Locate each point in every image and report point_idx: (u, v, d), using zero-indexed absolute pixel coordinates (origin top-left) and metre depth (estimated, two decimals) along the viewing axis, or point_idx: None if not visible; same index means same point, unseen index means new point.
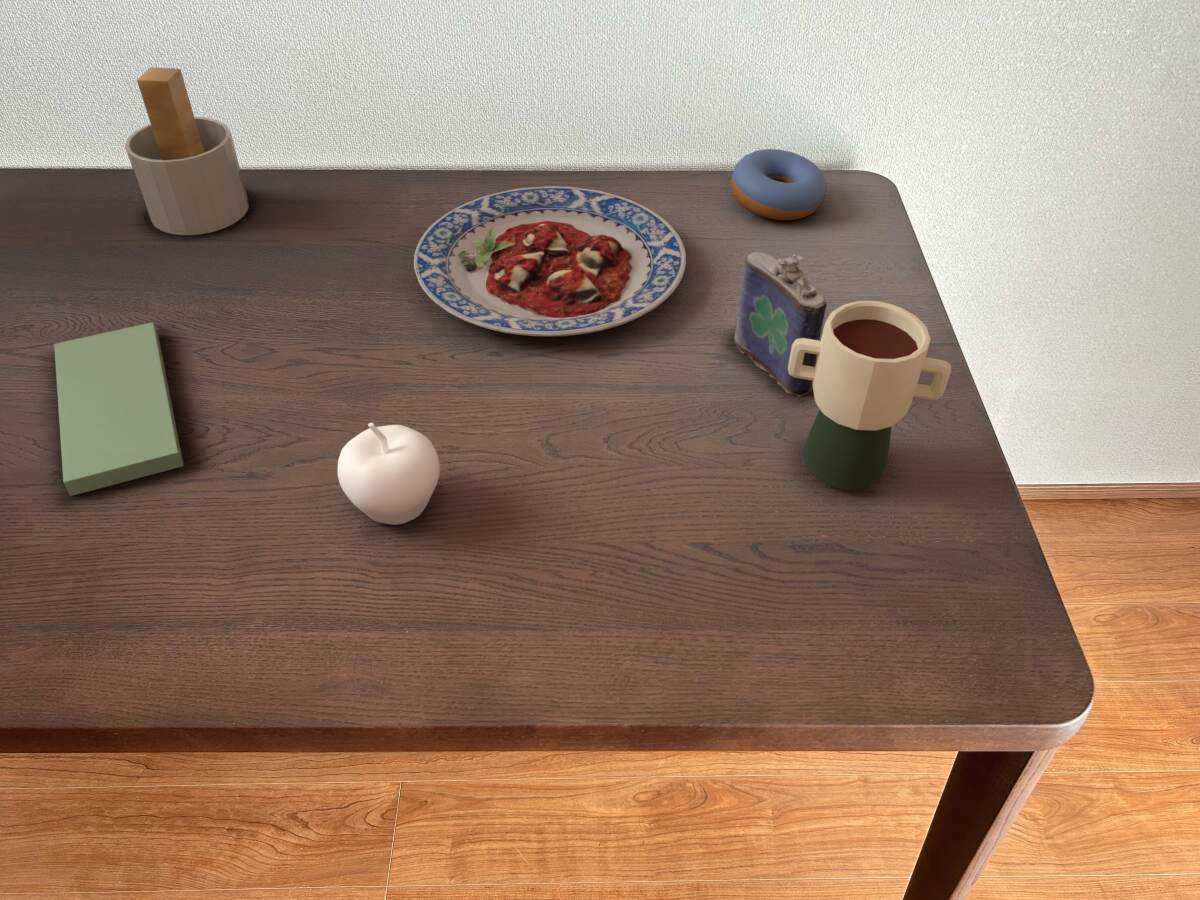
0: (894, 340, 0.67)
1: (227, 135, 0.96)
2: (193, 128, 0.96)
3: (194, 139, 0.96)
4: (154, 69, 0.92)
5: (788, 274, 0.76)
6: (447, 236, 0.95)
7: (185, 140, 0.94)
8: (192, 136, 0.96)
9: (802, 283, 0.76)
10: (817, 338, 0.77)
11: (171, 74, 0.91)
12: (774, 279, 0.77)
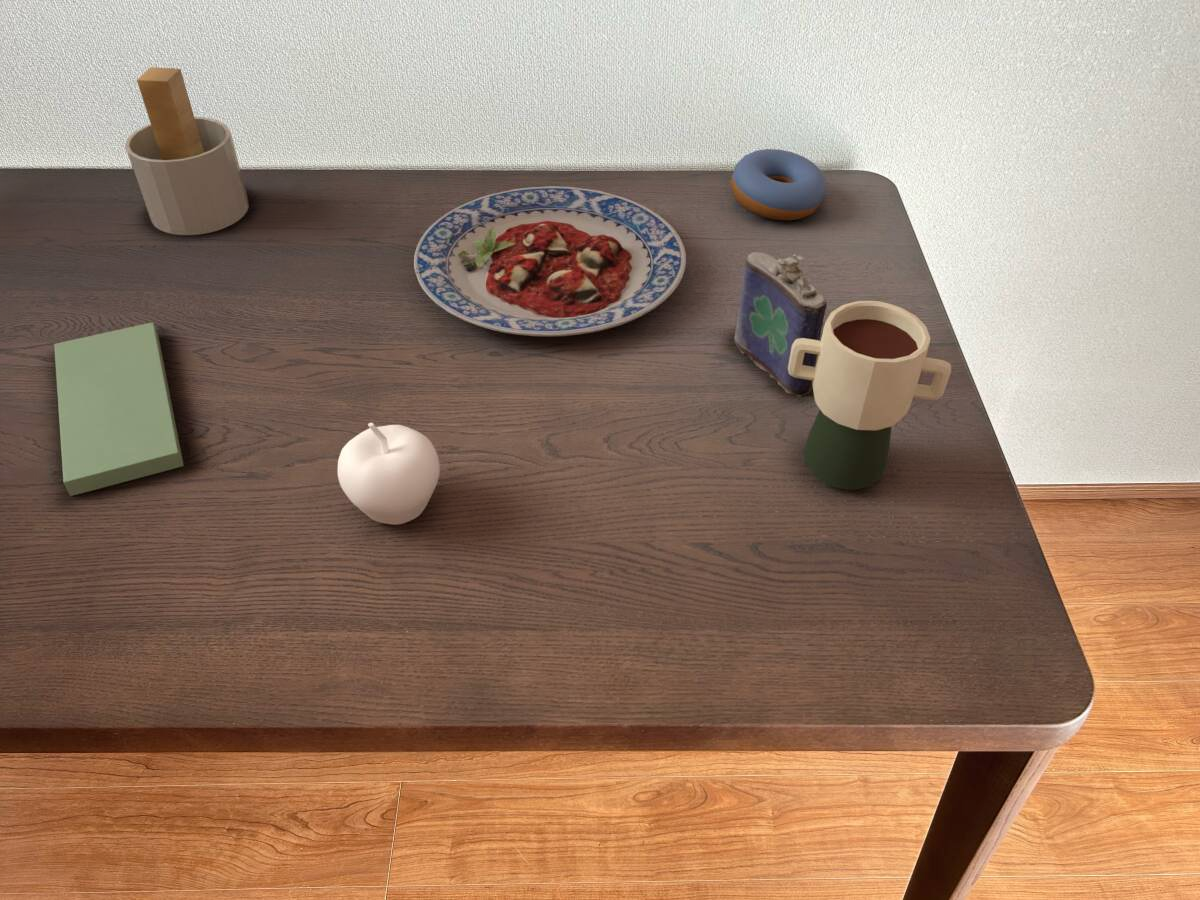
0: (894, 340, 0.67)
1: (227, 135, 0.96)
2: (193, 128, 0.96)
3: (194, 139, 0.96)
4: (154, 69, 0.92)
5: (788, 274, 0.76)
6: (447, 236, 0.95)
7: (185, 140, 0.94)
8: (192, 136, 0.96)
9: (802, 283, 0.76)
10: (817, 338, 0.77)
11: (171, 74, 0.91)
12: (774, 279, 0.77)
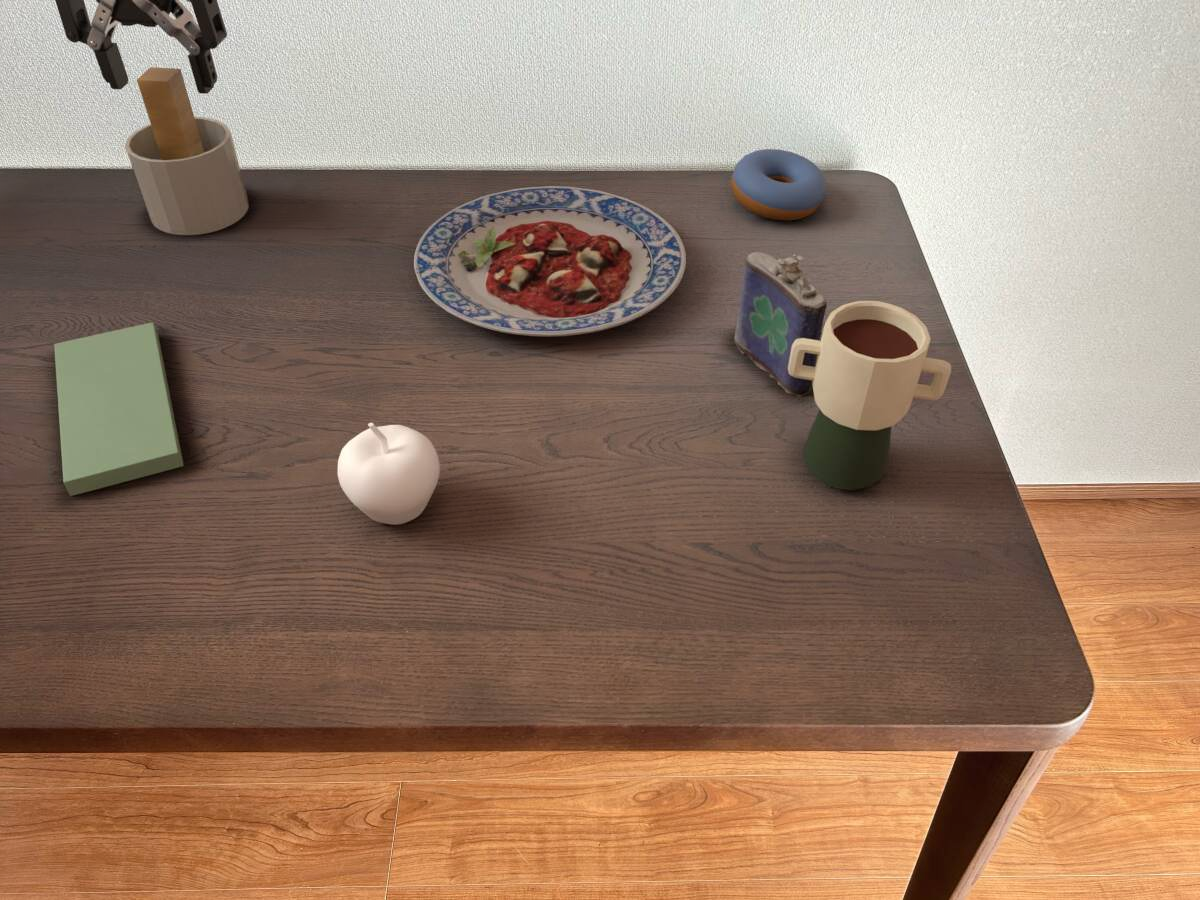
0: (894, 340, 0.67)
1: (227, 135, 0.96)
2: (193, 128, 0.96)
3: (194, 139, 0.96)
4: (154, 69, 0.92)
5: (788, 274, 0.76)
6: (447, 236, 0.95)
7: (185, 140, 0.94)
8: (192, 136, 0.96)
9: (802, 283, 0.76)
10: (817, 338, 0.77)
11: (171, 74, 0.91)
12: (774, 279, 0.77)
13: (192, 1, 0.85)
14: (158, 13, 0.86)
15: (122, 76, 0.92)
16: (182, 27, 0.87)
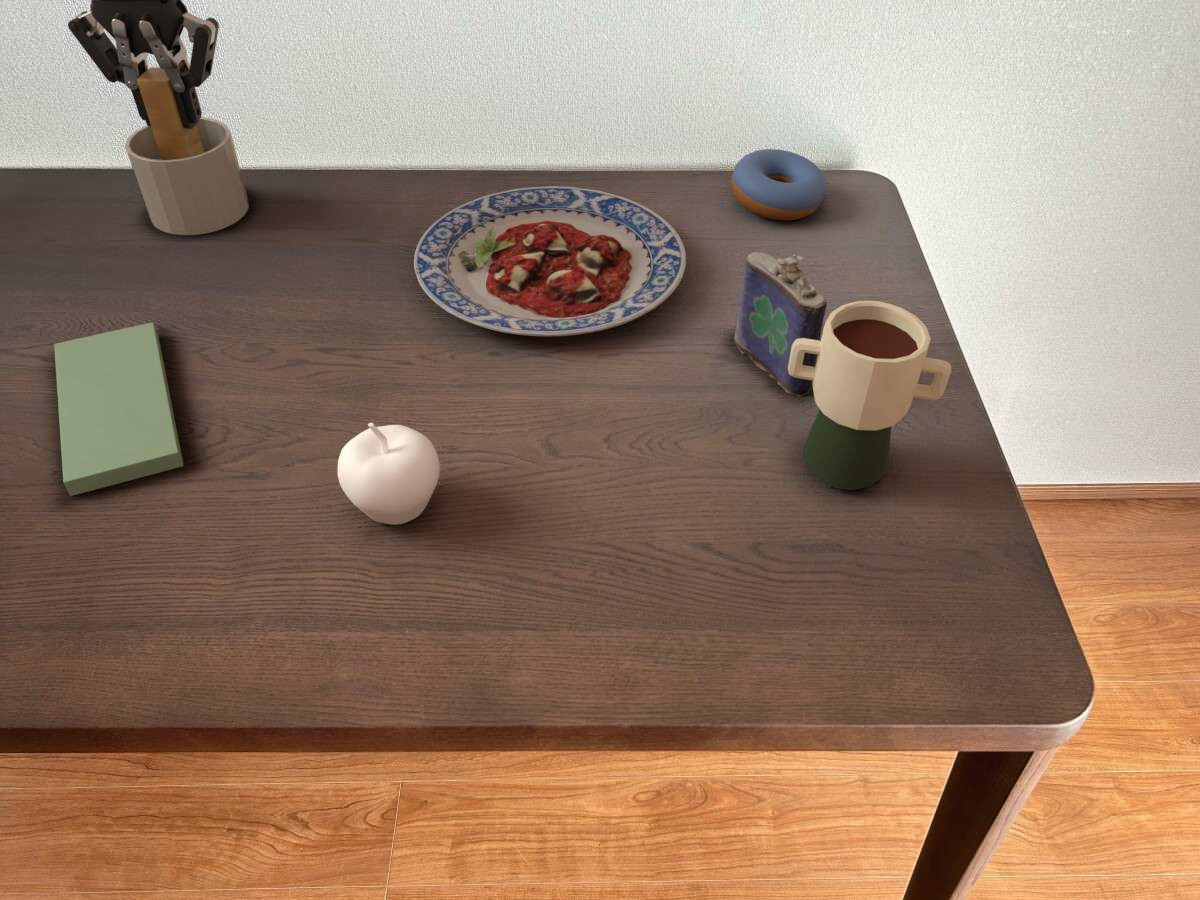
0: (894, 340, 0.67)
1: (227, 135, 0.96)
2: (193, 128, 0.96)
3: (194, 139, 0.96)
4: (154, 69, 0.92)
5: (788, 274, 0.76)
6: (447, 236, 0.95)
7: (185, 140, 0.94)
8: (192, 136, 0.96)
9: (802, 283, 0.76)
10: (817, 338, 0.77)
11: None
12: (774, 279, 0.77)
13: (195, 44, 0.88)
14: (159, 47, 0.88)
15: None
16: (176, 66, 0.90)
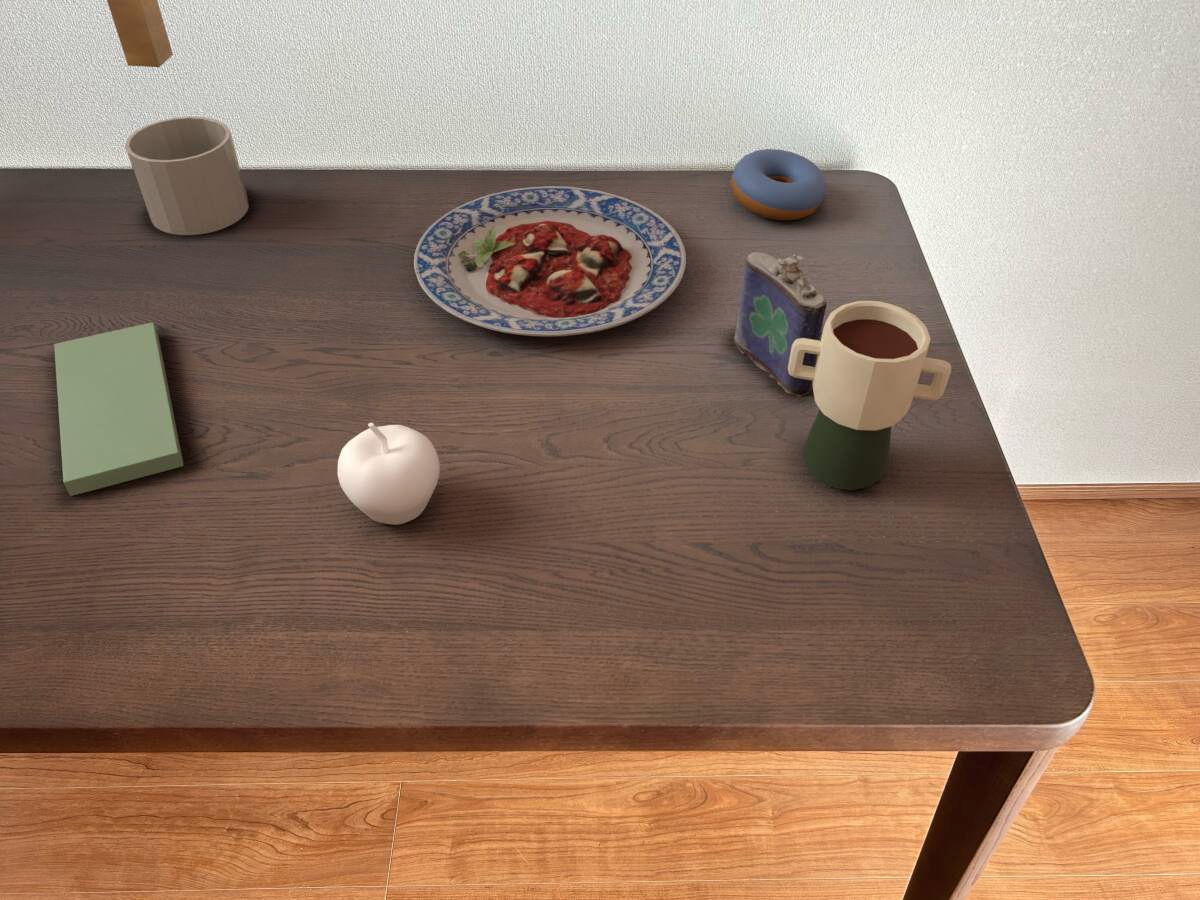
0: (894, 340, 0.67)
1: (227, 135, 0.96)
2: None
3: None
4: None
5: (788, 274, 0.76)
6: (447, 236, 0.95)
7: None
8: None
9: (802, 283, 0.76)
10: (817, 338, 0.77)
11: None
12: (774, 279, 0.77)
13: None
14: None
15: None
16: None
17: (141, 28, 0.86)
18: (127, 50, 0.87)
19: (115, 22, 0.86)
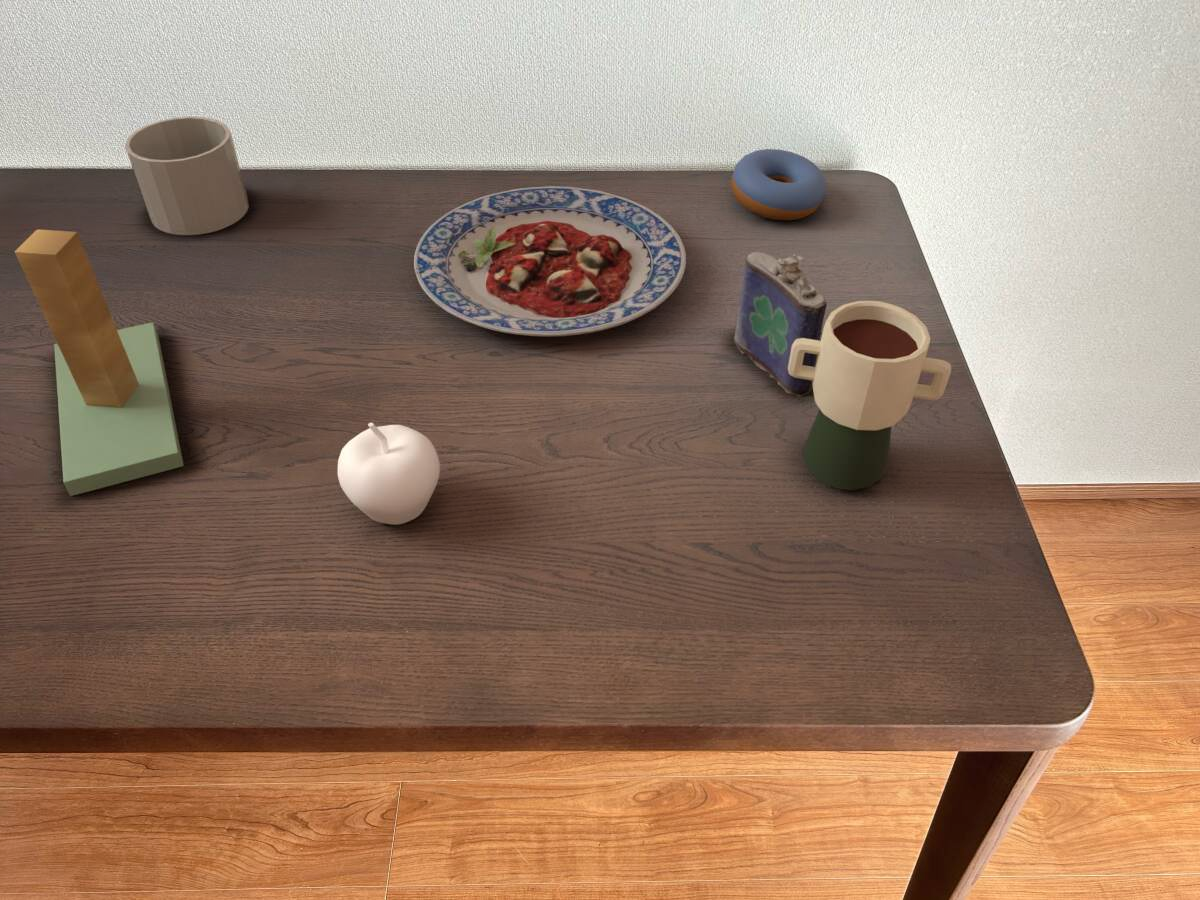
0: (894, 340, 0.67)
1: (227, 135, 0.96)
2: (98, 303, 0.72)
3: (100, 317, 0.72)
4: (41, 233, 0.69)
5: (788, 274, 0.76)
6: (447, 236, 0.95)
7: (86, 323, 0.71)
8: (97, 315, 0.72)
9: (802, 283, 0.76)
10: (817, 338, 0.77)
11: (62, 242, 0.68)
12: (774, 279, 0.77)
13: None
14: None
15: None
16: None
17: (100, 373, 0.74)
18: (84, 392, 0.75)
19: (70, 367, 0.74)
